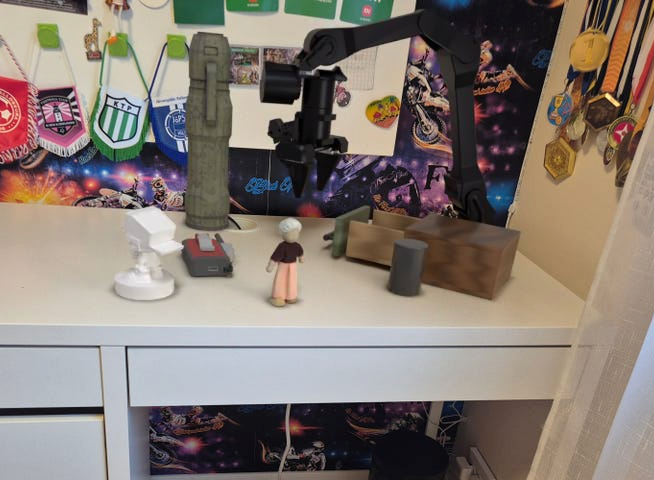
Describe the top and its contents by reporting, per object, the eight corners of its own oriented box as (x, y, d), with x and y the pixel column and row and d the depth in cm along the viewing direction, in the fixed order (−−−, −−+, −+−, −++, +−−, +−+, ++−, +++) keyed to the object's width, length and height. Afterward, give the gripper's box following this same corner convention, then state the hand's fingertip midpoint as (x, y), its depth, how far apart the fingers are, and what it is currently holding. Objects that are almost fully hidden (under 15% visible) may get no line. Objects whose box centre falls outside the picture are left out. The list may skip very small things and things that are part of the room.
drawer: (313, 250, 118) (316, 213, 115) (343, 235, 129) (347, 201, 126) (411, 274, 111) (418, 235, 108) (435, 256, 121) (441, 220, 118)
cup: (394, 282, 109) (401, 236, 105) (424, 289, 107) (432, 243, 103) (382, 290, 104) (389, 243, 101) (413, 299, 102) (422, 250, 99)
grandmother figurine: (281, 311, 93) (288, 225, 87) (259, 304, 95) (265, 219, 89) (308, 297, 99) (316, 216, 93) (288, 290, 101) (294, 210, 95)
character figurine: (144, 275, 101) (142, 199, 96) (191, 290, 97) (192, 212, 92) (102, 290, 94) (97, 209, 89) (151, 306, 90) (149, 223, 85)
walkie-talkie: (244, 278, 104) (222, 242, 121) (246, 252, 102) (223, 218, 119) (190, 279, 101) (175, 242, 118) (190, 252, 99) (175, 218, 116)
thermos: (190, 233, 124) (191, 31, 108) (180, 216, 134) (180, 29, 118) (234, 232, 127) (242, 35, 111) (222, 216, 137) (227, 34, 121)
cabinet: (397, 276, 111) (404, 228, 108) (423, 257, 123) (431, 213, 119) (491, 300, 105) (503, 249, 101) (510, 277, 117) (521, 231, 113)
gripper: (301, 99, 125) (295, 180, 132) (251, 103, 110) (247, 194, 117) (353, 106, 121) (344, 189, 128) (308, 111, 106) (300, 205, 113)
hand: (309, 194), depth 122 cm, fingers open, 9 cm apart
